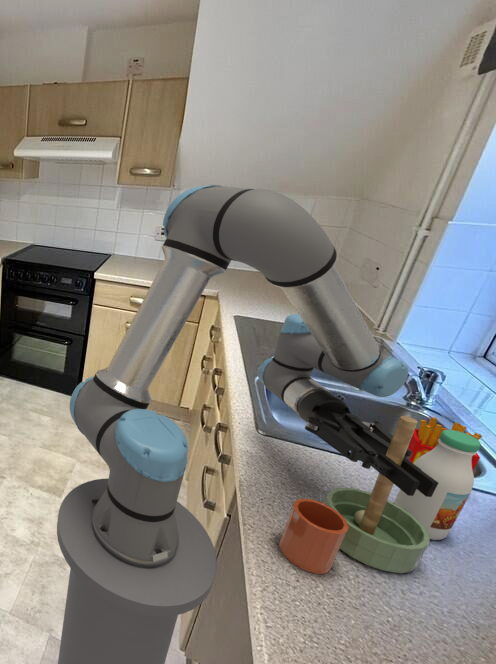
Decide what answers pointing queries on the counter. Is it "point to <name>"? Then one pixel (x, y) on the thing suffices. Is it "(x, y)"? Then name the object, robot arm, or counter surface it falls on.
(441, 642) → the counter surface
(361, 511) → the ball
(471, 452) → the milk bottle
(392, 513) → the bowl
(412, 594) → the counter surface
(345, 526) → the utensil cup
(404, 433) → the stirring stick
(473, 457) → the french fries container
